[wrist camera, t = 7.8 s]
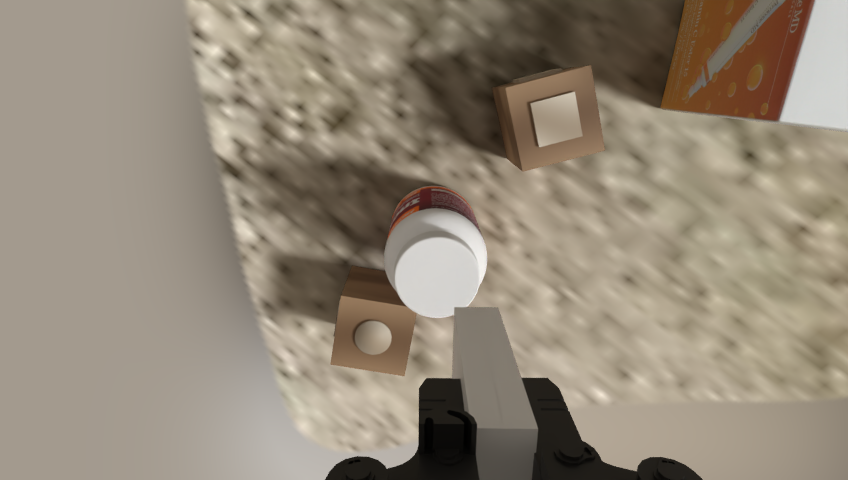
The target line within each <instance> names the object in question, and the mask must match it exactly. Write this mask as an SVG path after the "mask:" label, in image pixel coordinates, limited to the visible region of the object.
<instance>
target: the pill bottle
mask: <svg viewBox="0 0 848 480" xmlns="http://www.w3.org/2000/svg"><path fill="white" fill-rule="evenodd" d="M384 266H385V271H386V274H387V277H388V280H389V282H390V283H391V285H392V287H393V288H394V289H395V291H396V292H397V293H398V295H399V297H400V299H401V300H402V302H403V303H404V304H405V305H406V306H407V307H408V308H409V309H411V310H412V311H414V312H416V313H417V314H420V315H422V316H426V317H431V318H443V317H448V316H451V315H454V307H467V306H468V305H469V304H470V303H471V301H472V300H473V299H474V297H475V295H476V293H477V291H478V288H479V285H480V284H481V282H482V280H483V278H484V275H485V272H486V267H487V251H486V246H485V242H484V239H483V237H482V234H481V231H480V229H479V227H478V224H477V221H476V218H475V216H474V213H473V211H472V209H471V207H470V205H469V204H468V203H467V201H466V200H465V199H464V198H463V197H462V196H461V195H460V194H458V193H457V192H455V191H453V190H451V189H449V188H446V187H442V186H426V187H421V188H418V189H416V190H414V191H412V192H410V193H409V194H407V195H406V196H405V197H404V198H403V199H402V200H401V201H400V202H399V204H398V205H397V207H396V209H395V211H394V213H393V216H392V219H391V224H390V229H389V233H388V238H387V242H386V246H385V252H384Z"/></svg>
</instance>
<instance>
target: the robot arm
mask: <svg viewBox="0 0 848 480" xmlns="http://www.w3.org/2000/svg"><path fill="white" fill-rule="evenodd" d="M325 480H702V478H701V477H700V476H698V475H697V474H696V473H695V472H694V471H693V470H691V469H690V468H689V467H687V466H686V465H684V464H682V463H680V462H677V461H675V460H672V459H667V458H663V457H650V458H648V459H645V460H642V462H641V463H640V464H639V465H638V469H637V472H636V471H632V470H628V469H623V468H619V467H616V466H612V465H609V464H607V463H604V462H603V461H602V460H601V458H600V456H599V454H598V453H597V452H596V450H595V449H594V448H593V447H591V446H590V445H588V444H587V443H586V442H583V441H582V440H581V437H580V435H579V433H578V431H577V428H576V426H575V424H574V421H573V419H572V417H571V415H570V412H569V411H568V408H567V406H566V403H565V402H564V399H563V396H562V394H561V392H560V390H559V388H558V387H557V386H556V385H555V384H554V383H552V382H551V381H550V380H549V379H548V378H521V375H520V372H519V369H518V366H517V363H516V360H515V357H514V354H513V351H512V348H511V345H510V342H509V339H508V336H507V333H506V330H505V327H504V324H503V321H502V318H501V315H500V312H499V309H498V308H489V307H454V332H453V365H452V379H451V378H426V380H425V381H424V382H423V384H422V385H421V386H420V388H419V446H418V450H417V452H416V453H415V455H414V456H413V457H412V458H411V459H410V460H409V461H407V462H405V463H404V464H402V465H399V466H396V467H392V468H388V469H386V467H385V466H384V465H383V464H382V463H381V462H379V461H378V460H376V459H373V458H370V457H358V456H357V457H352V458H349V459H345V460H343V461H341V462H340V463H338V464H336V466H334V468H333V469H332V470H331V471H330V472H329V474H328V476H327V477H326V479H325Z"/></svg>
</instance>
